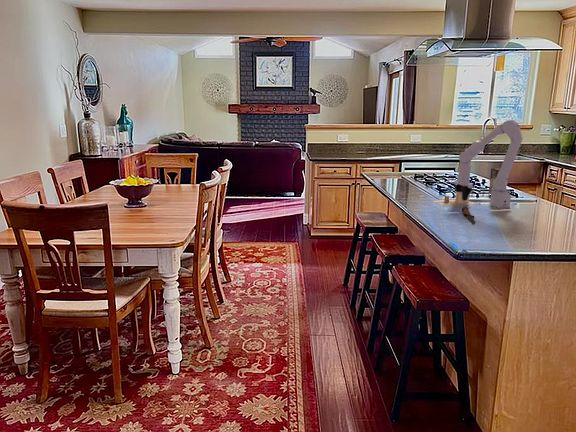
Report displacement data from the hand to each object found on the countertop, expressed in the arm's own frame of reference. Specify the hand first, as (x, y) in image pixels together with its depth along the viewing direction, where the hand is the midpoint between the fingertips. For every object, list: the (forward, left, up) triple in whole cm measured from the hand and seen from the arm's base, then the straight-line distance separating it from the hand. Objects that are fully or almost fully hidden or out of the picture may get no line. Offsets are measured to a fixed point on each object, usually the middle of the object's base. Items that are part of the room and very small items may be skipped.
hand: (462, 199), depth 241 cm
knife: (-32, +16, -3) cm, 35 cm away
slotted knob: (0, 0, -1) cm, 1 cm away
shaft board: (0, +5, -2) cm, 5 cm away
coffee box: (+14, -31, -2) cm, 34 cm away
